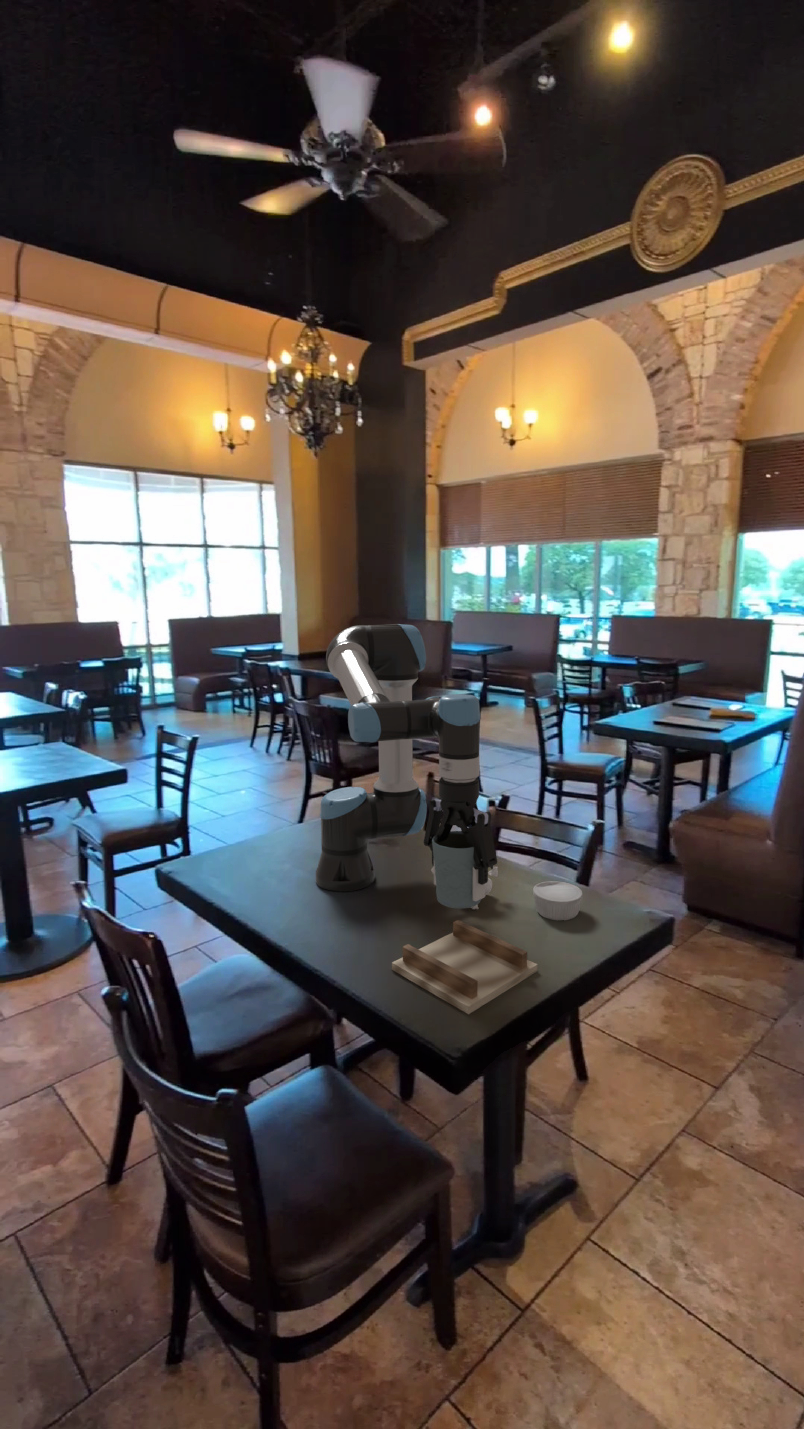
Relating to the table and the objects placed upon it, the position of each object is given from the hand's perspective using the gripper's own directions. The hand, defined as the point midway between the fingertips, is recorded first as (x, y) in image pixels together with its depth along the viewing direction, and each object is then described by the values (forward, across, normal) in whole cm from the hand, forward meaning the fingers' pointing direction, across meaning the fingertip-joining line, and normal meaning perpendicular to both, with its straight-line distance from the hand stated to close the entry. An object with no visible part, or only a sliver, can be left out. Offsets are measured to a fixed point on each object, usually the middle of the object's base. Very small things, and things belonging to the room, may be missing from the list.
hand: (458, 890), depth 133 cm
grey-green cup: (+2, 0, 0) cm, 2 cm away
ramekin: (+16, -1, +34) cm, 38 cm away
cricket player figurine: (+16, -18, +23) cm, 33 cm away
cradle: (+16, +1, 0) cm, 16 cm away
